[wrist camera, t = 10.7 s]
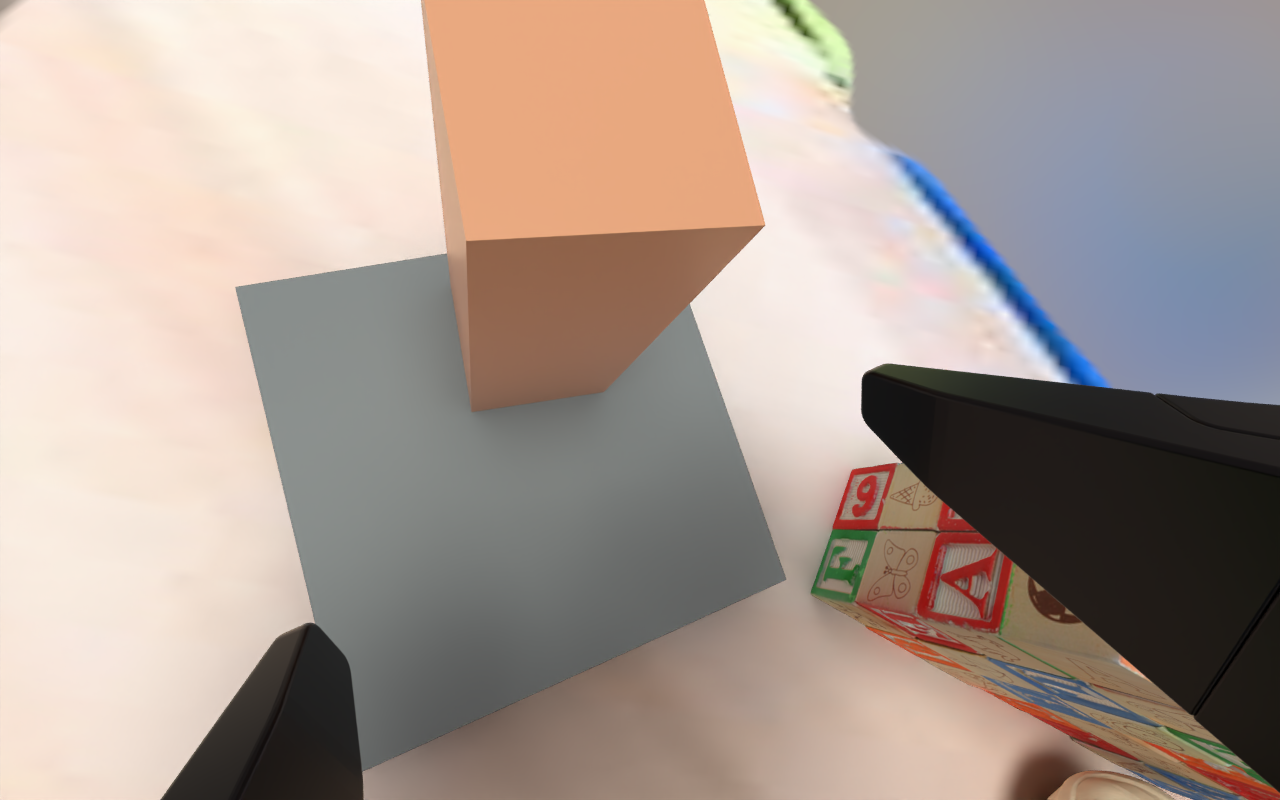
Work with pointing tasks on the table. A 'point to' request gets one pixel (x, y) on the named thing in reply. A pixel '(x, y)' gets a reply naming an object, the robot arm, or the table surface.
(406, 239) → the table surface
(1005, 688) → the stack of blocks
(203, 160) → the table surface
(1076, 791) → the baseball
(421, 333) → the slate board
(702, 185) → the tall peach square pillar
